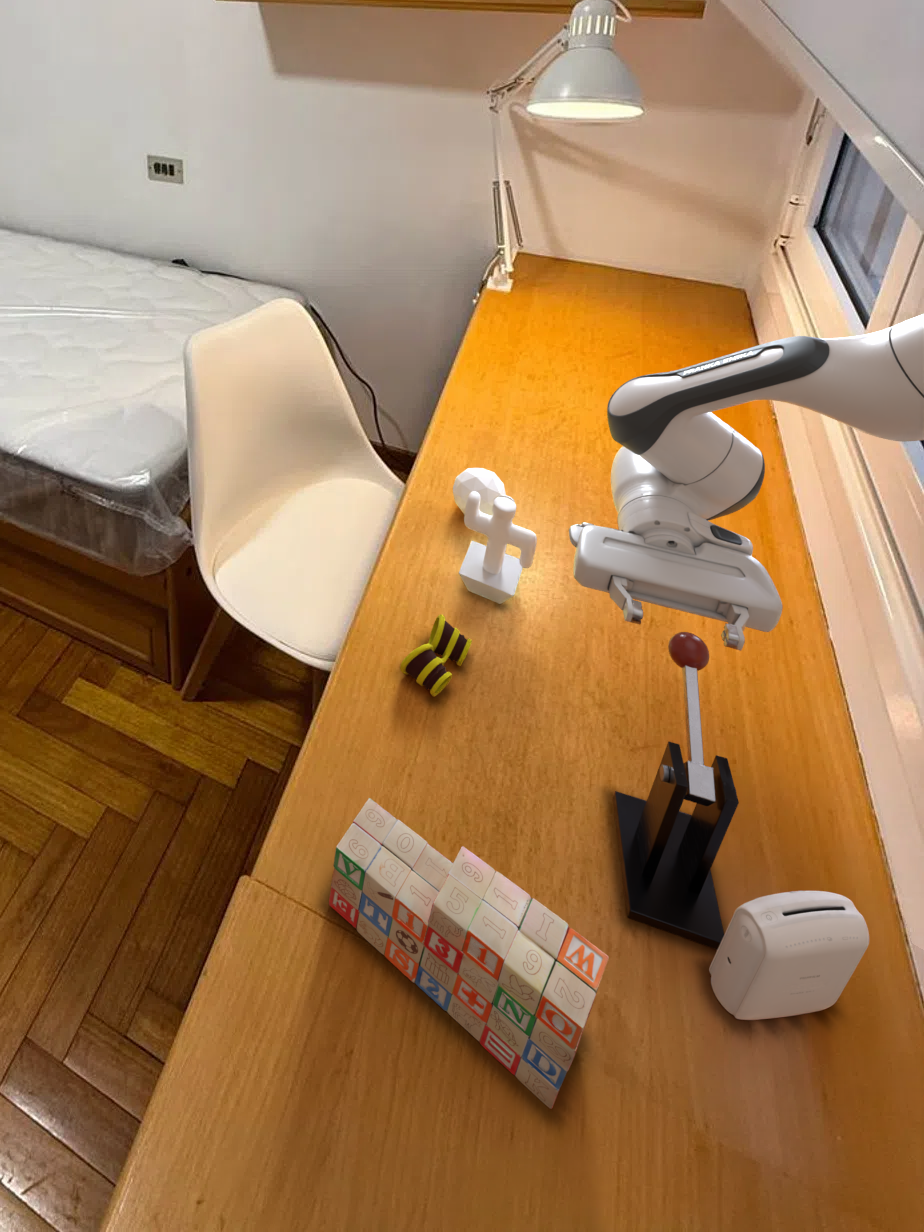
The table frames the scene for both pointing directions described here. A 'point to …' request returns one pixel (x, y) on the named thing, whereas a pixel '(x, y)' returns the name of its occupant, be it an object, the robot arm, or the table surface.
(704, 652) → the lever
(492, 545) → the figurine
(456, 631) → the opera glasses
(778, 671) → the table surface
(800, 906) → the photo printer
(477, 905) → the stack of blocks
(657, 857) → the bracket
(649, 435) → the robot arm
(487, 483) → the geometric ball
